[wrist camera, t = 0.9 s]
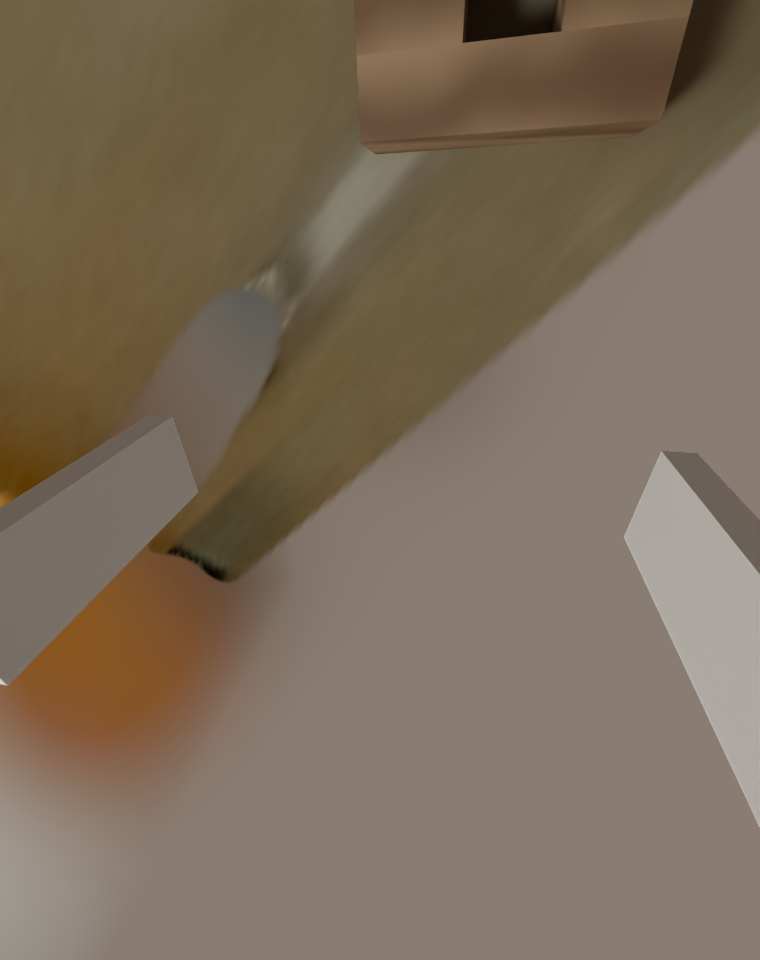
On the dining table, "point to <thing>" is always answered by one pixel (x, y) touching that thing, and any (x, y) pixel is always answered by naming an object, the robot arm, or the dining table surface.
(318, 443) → the dining table surface
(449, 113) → the board
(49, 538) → the robot arm
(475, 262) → the dining table surface
